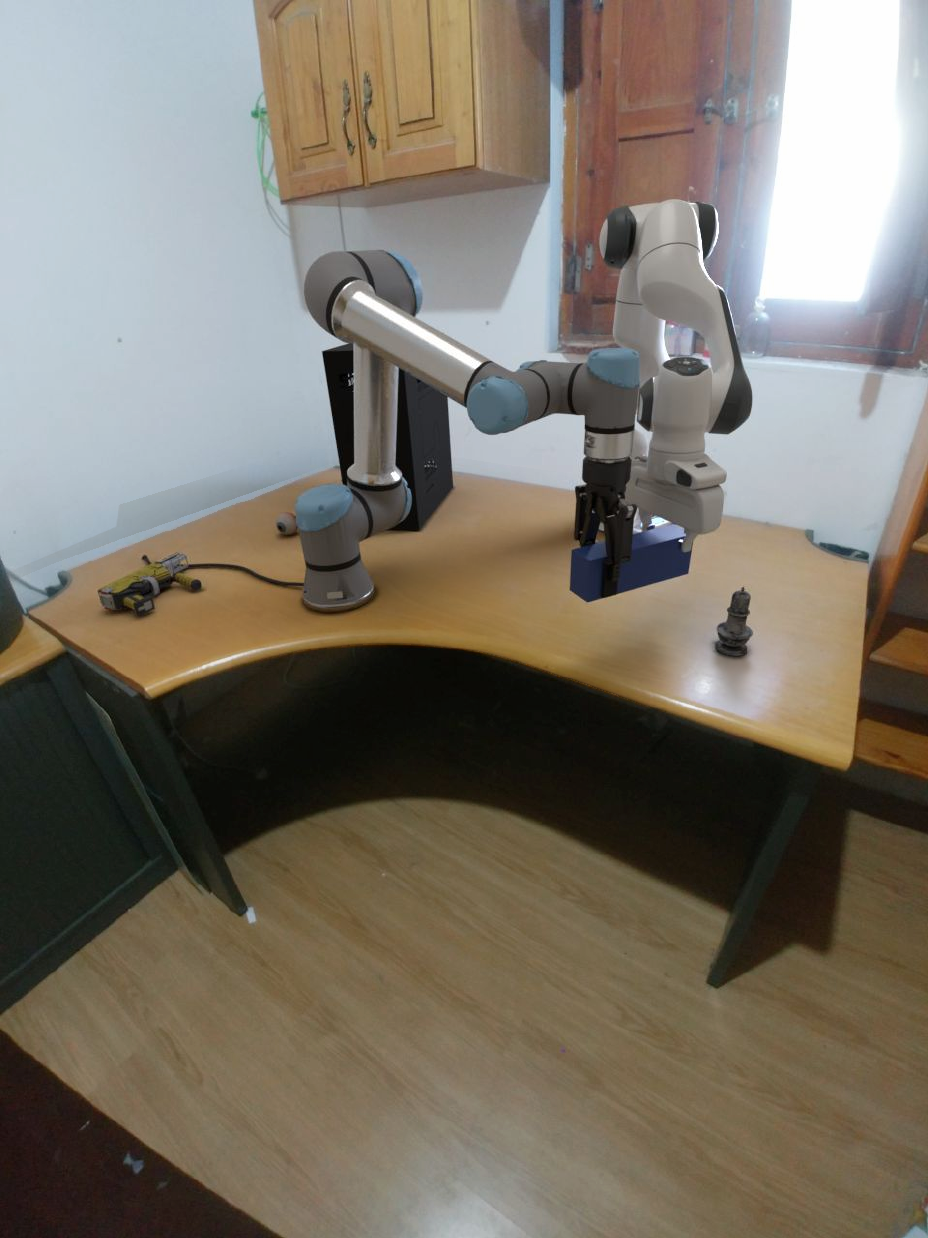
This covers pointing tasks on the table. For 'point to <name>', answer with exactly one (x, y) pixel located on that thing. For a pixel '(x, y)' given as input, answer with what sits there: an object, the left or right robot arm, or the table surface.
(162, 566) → the toy gun
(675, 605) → the table surface
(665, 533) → the bar
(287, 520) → the eyeball
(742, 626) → the chess piece
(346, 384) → the black tall block
